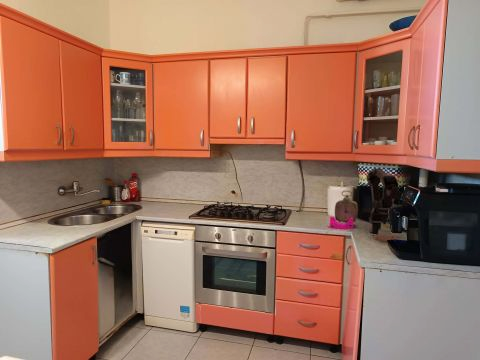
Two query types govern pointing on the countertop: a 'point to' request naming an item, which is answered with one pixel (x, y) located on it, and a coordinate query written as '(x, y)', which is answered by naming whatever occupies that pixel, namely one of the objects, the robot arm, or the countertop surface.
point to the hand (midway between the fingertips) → (387, 223)
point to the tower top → (385, 233)
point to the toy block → (336, 225)
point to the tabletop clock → (346, 209)
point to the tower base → (384, 238)
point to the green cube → (385, 227)
